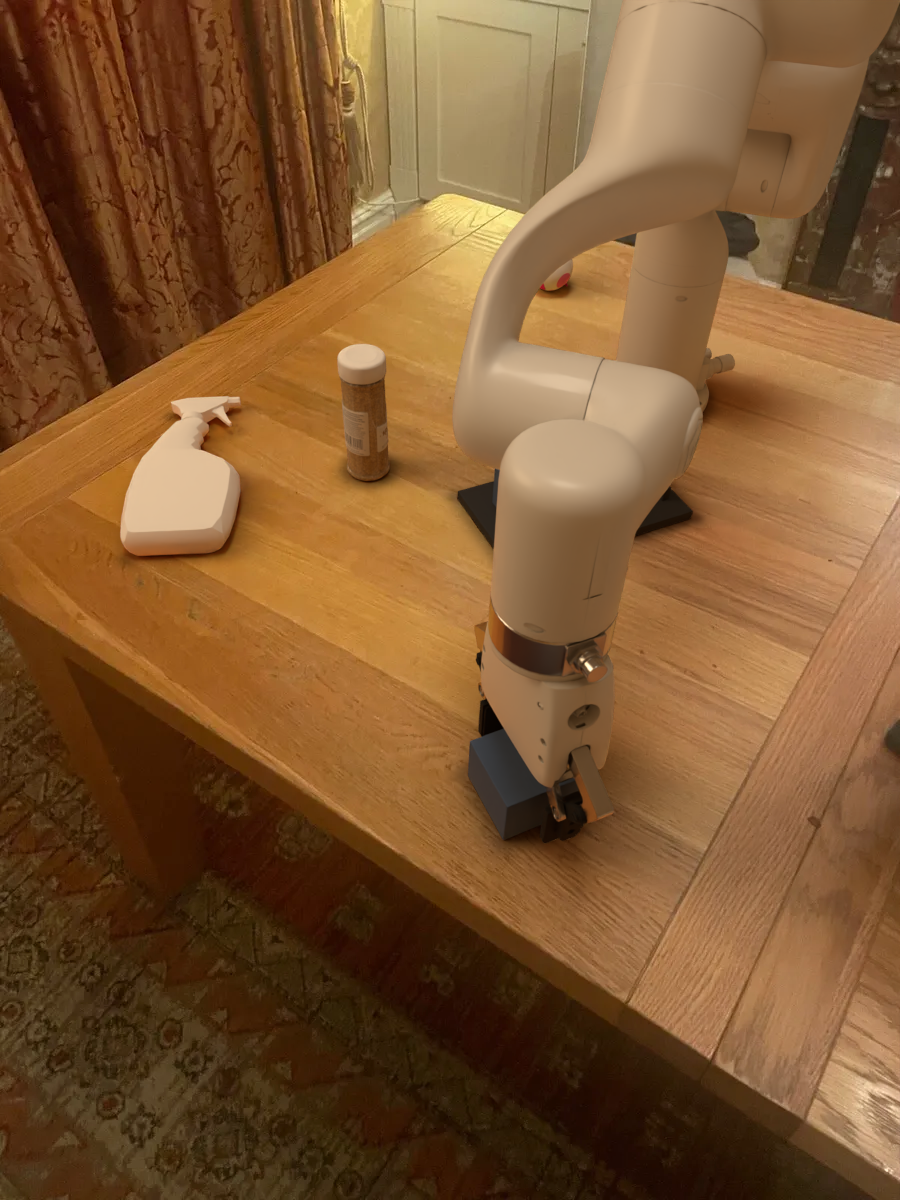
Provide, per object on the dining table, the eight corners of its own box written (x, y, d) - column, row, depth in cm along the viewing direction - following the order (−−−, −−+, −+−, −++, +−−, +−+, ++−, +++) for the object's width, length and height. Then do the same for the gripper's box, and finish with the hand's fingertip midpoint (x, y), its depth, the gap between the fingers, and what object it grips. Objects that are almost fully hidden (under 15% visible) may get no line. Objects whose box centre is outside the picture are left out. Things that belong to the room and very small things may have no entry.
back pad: (548, 744, 71) (554, 709, 67) (587, 806, 67) (595, 772, 64) (467, 775, 69) (469, 740, 65) (503, 840, 65) (507, 807, 62)
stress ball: (525, 297, 127) (501, 261, 123) (573, 262, 125) (550, 224, 121) (540, 322, 122) (515, 285, 117) (591, 285, 120) (567, 247, 115)
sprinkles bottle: (398, 473, 94) (394, 358, 84) (360, 488, 92) (351, 372, 82) (376, 450, 97) (370, 336, 87) (338, 464, 95) (328, 350, 85)
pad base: (626, 451, 97) (634, 408, 93) (691, 518, 90) (703, 474, 86) (457, 498, 91) (458, 454, 87) (511, 575, 84) (515, 530, 80)
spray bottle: (116, 560, 84) (157, 412, 101) (235, 555, 85) (255, 409, 102) (108, 535, 82) (151, 389, 99) (230, 531, 83) (251, 386, 100)
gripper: (687, 703, 50) (635, 858, 62) (537, 515, 61) (518, 679, 73) (568, 749, 47) (539, 901, 60) (435, 545, 58) (433, 708, 71)
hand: (528, 778), depth 66 cm, fingers open, 9 cm apart
